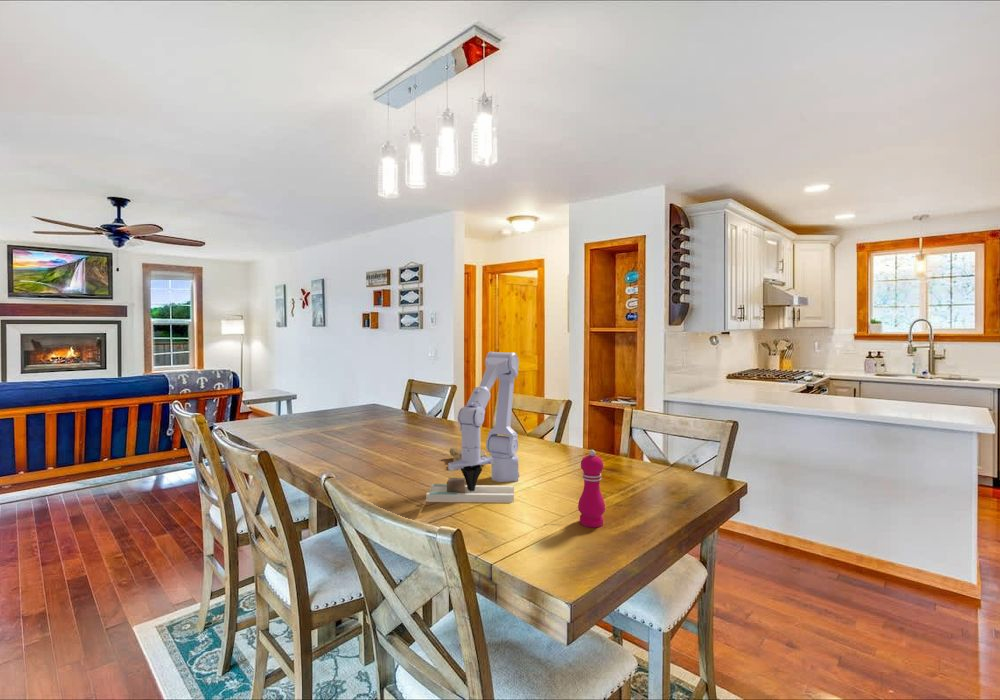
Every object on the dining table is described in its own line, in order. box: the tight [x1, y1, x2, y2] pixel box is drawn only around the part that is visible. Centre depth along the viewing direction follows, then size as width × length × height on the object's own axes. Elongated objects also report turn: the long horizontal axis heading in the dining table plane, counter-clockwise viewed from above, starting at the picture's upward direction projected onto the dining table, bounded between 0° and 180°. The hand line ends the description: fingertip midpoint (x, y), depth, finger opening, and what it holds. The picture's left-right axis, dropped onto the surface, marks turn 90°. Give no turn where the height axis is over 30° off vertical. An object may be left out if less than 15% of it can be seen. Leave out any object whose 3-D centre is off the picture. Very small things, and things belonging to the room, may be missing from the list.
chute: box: [425, 483, 515, 504], centre depth 154 cm, size 26×10×3 cm, turn 88°
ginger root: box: [449, 447, 488, 462], centre depth 194 cm, size 16×16×8 cm
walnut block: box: [446, 477, 466, 493], centre depth 154 cm, size 5×5×5 cm
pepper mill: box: [577, 449, 606, 528], centre depth 135 cm, size 7×7×20 cm
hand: (471, 490), depth 154 cm, fingers closed
